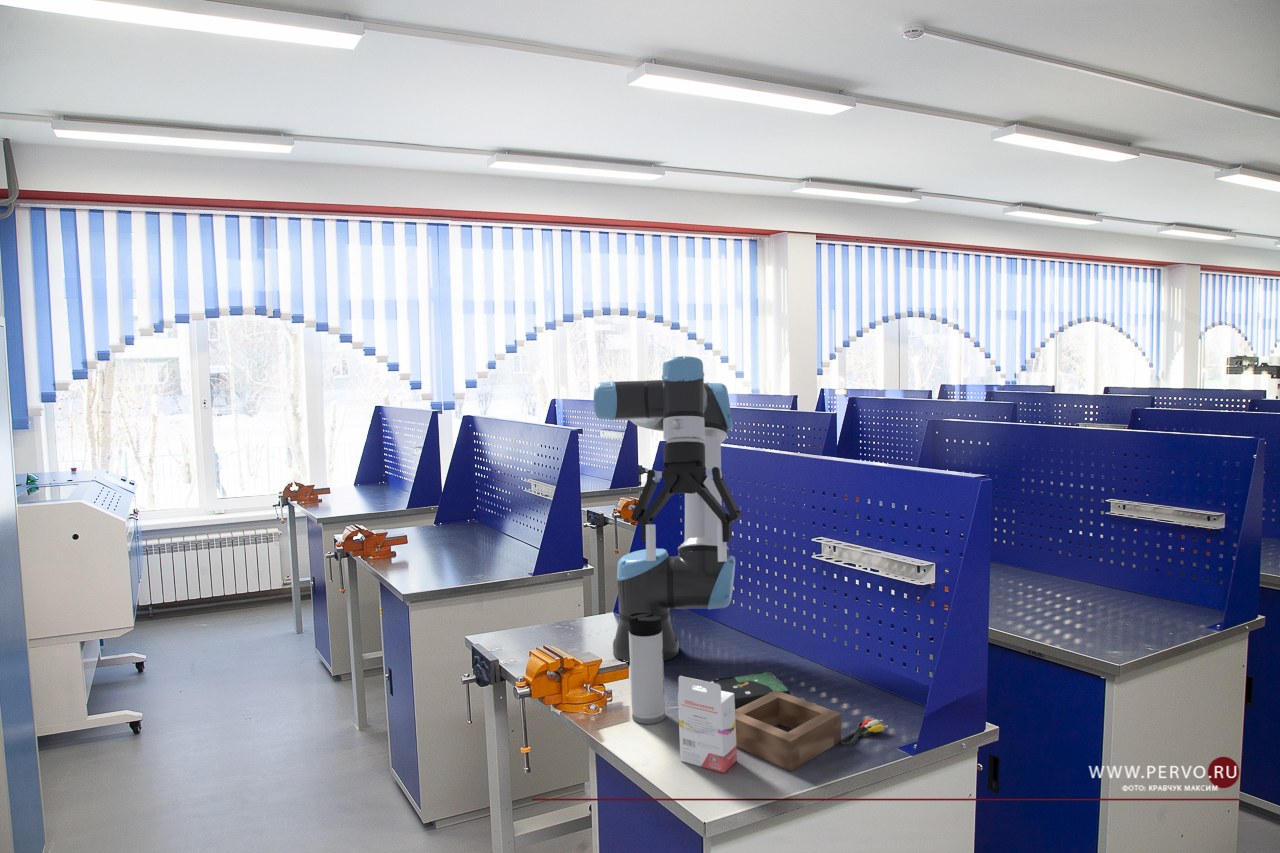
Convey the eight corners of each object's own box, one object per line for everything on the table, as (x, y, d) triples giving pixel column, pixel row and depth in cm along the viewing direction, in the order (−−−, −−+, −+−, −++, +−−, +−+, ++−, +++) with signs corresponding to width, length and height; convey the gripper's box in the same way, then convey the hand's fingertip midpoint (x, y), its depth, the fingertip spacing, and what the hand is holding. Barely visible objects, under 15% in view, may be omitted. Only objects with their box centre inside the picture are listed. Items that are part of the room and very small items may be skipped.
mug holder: (726, 742, 137) (725, 714, 137) (777, 715, 147) (776, 690, 146) (791, 771, 127) (790, 741, 127) (841, 741, 136) (840, 713, 136)
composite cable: (847, 750, 134) (847, 736, 134) (828, 738, 138) (827, 725, 138) (889, 735, 138) (889, 721, 138) (869, 724, 143) (869, 711, 142)
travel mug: (624, 717, 148) (619, 614, 147) (650, 706, 153) (646, 606, 151) (645, 728, 144) (641, 621, 142) (672, 717, 148) (668, 613, 146)
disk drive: (720, 715, 149) (792, 703, 153) (719, 701, 149) (791, 689, 153) (702, 693, 159) (770, 682, 163) (702, 680, 159) (770, 669, 163)
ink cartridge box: (738, 760, 131) (735, 675, 130) (724, 774, 127) (721, 686, 126) (693, 748, 136) (690, 665, 135) (678, 761, 132) (675, 675, 130)
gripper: (613, 443, 144) (613, 561, 142) (744, 436, 134) (747, 562, 131) (630, 447, 151) (631, 559, 149) (756, 440, 141) (760, 560, 138)
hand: (686, 561), depth 140 cm, fingers open, 13 cm apart
